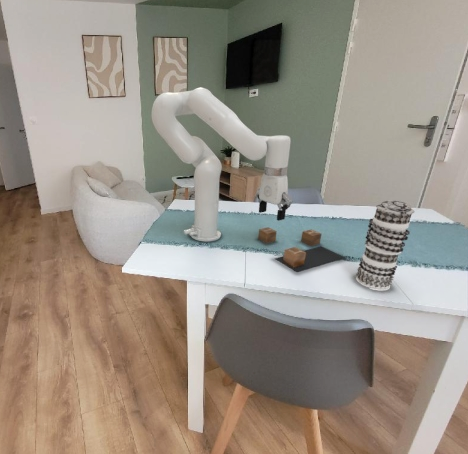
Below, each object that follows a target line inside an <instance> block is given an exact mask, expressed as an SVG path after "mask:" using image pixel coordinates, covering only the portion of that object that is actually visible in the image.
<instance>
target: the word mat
mask: <svg viewBox="0 0 468 454" xmlns="http://www.w3.org/2000/svg"><path fill="white" fill-rule="evenodd" d="M303 251H304V252H306V256H305V261H304V265H301V266H297V267H294V268H293V267H291V266H290V265H288V264H286V263H285V262H283V258H284V255H283V256H278V257H275V258H274V260H275V261H277V262H279V263H280V264H282V265H284V266H285V267H287V268H289V269H290V270H291V271H293V272H295V273H300V272H304V271H307V270H311V269H314V268H317V267H322V266H324V265H327V264H331V263H335V262H338V261H342V260H344V259H346V257H345V256H343V255H341V254H339V253H336V252H334V251H332V250H330V249H328V248H326V247H323V246H322V245H320V246H317V247H313V248H309V249H306V250H303Z"/></svg>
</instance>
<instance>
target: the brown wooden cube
mask: <svg viewBox="0 0 468 454" xmlns="http://www.w3.org/2000/svg"><path fill="white" fill-rule="evenodd" d="M304 251H305V250H302V249H300V248H298V247H297V246H294V247H289V248H286V249H284V252H283V256H284V258H283V262H285V263H286V264H288V265H290V266H291V267H293V268H294V267H297V266H301V265H304V261H305V256H306V252H304Z"/></svg>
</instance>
